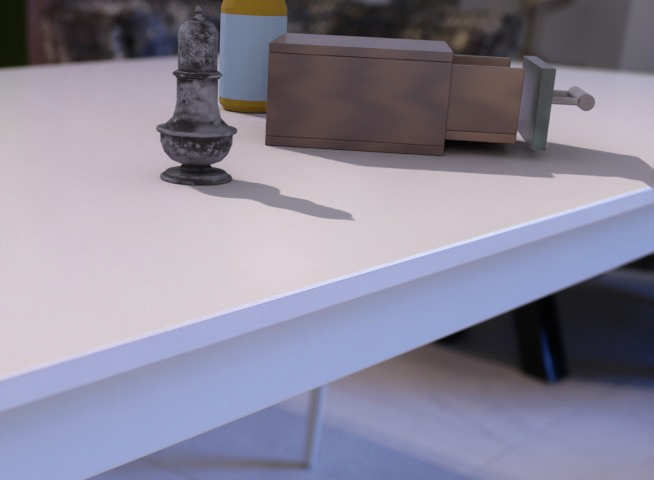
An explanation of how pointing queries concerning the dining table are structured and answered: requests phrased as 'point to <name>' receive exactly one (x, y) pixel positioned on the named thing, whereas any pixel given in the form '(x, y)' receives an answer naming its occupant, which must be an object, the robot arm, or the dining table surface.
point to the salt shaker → (196, 110)
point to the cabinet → (358, 93)
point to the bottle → (248, 51)
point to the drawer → (505, 100)
